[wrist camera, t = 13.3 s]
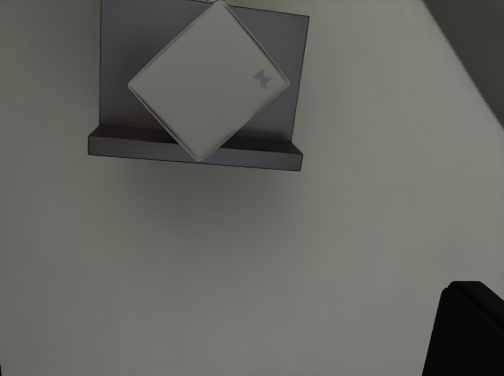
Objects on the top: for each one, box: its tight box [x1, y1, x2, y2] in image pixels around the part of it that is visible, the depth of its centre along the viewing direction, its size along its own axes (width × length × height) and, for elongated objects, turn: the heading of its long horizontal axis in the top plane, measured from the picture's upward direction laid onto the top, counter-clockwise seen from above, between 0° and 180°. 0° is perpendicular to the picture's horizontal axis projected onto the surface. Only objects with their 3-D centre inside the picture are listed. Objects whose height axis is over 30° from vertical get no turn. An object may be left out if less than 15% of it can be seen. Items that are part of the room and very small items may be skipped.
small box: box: [128, 0, 290, 161], centre depth 21 cm, size 5×4×8 cm
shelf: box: [88, 0, 309, 171], centre depth 26 cm, size 11×8×8 cm
